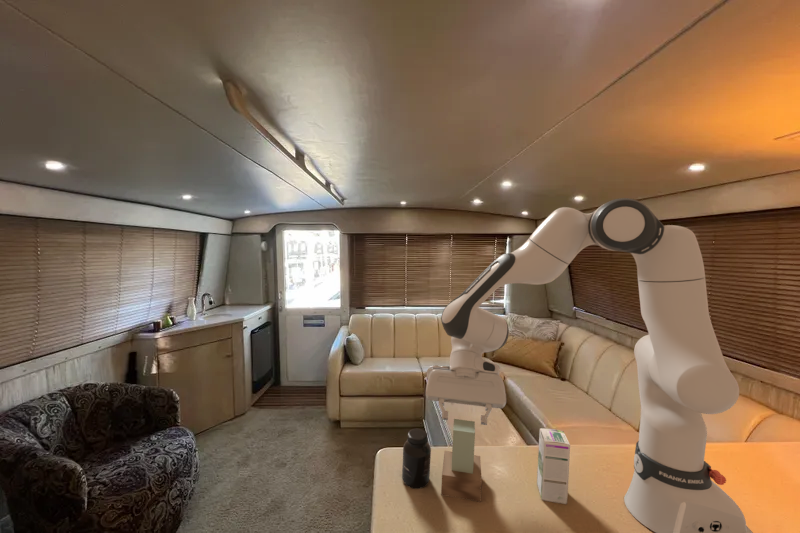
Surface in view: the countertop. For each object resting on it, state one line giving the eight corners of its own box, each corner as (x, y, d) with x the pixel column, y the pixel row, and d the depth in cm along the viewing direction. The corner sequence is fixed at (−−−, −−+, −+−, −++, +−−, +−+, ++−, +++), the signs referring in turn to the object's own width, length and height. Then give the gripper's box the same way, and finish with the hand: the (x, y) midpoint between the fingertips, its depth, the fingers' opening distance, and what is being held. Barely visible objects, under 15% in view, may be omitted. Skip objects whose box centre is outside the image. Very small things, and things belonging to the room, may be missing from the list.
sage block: (472, 459, 83) (474, 421, 82) (473, 473, 78) (475, 433, 77) (452, 456, 84) (454, 418, 83) (451, 470, 79) (453, 430, 78)
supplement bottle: (397, 484, 81) (398, 436, 80) (408, 466, 87) (410, 423, 86) (423, 494, 78) (425, 445, 77) (433, 475, 84) (435, 430, 83)
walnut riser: (479, 474, 85) (480, 456, 84) (480, 501, 76) (481, 481, 75) (443, 468, 86) (444, 450, 86) (441, 494, 78) (441, 474, 77)
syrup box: (567, 505, 76) (572, 444, 74) (540, 500, 77) (544, 440, 76) (560, 486, 81) (565, 430, 80) (535, 482, 82) (539, 426, 81)
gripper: (427, 359, 90) (421, 412, 81) (505, 366, 86) (508, 423, 77) (428, 369, 95) (423, 420, 86) (502, 376, 91) (505, 430, 82)
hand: (464, 421), depth 82 cm, fingers open, 8 cm apart
